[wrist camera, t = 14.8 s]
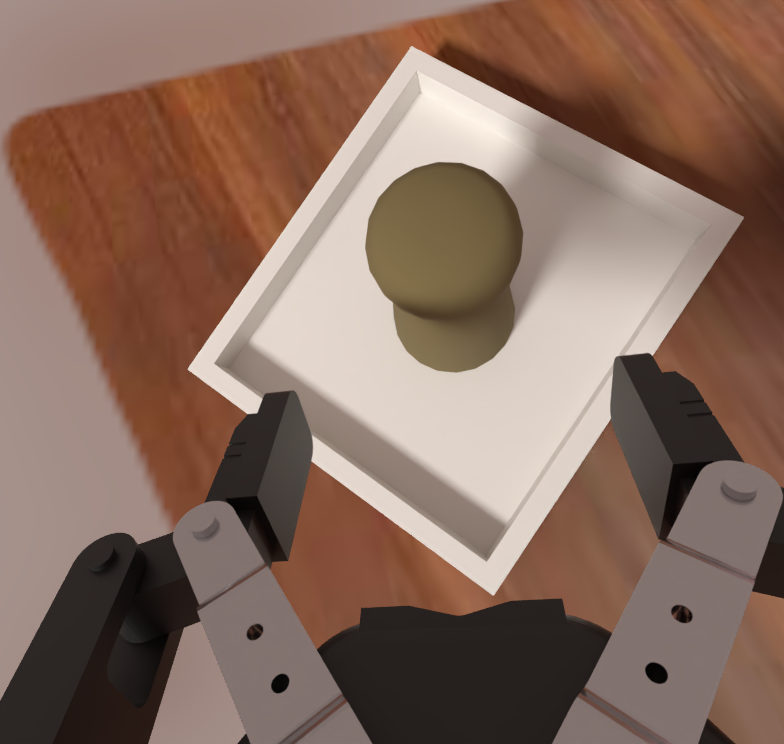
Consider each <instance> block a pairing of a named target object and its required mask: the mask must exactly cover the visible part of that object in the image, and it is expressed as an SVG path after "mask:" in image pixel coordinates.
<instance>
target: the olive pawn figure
mask: <svg viewBox="0 0 784 744" xmlns="http://www.w3.org/2000/svg"><path fill="white" fill-rule="evenodd" d="M522 243H523V229H522V225H521V221H520V217H519V214H518V210H517V207H516V205H515V203H514V202H513V200H512V199H511V197H510V196H509V194H508V193H507V191H506V190H505V188H504V187H503V185H502V184H501V183H499V182H498V181H497V180H495V179H494V178H493V177H492V176H490V175H489V174H488V173H486V172H485V171H484V170H481V169H478V168H475V167H472V166H469V165H466V164H464V163H453V162H436V163H432V164H428V165H424V166H421V167H417V168H414V169H412V170H411V171H409V172H407V173H406V174H404V175H402V176H401V177H399V178H397V179H396V180H394V181H393V182H392V183H391V184H390V186H389V187H388V188H387V189H386V190H385V191H384V192H383V193H382V194H381V195H380V197H379V198H378V200H377V202H376V204H375V206H374V208H373V210H372V212H371V214H370V217H369V219H368V227H367V235H366V243H365V250H366V255H367V260H368V265H369V270H370V272H371V274H372V276H373V277H374V279H375V281H376V282H377V284H378V286H379V288H380V289H381V291H382V293H383V294H384V295H385V296H386V297H387V298H388V299H389V300H390V301H391V302H393V313H394V321H395V326H396V331H397V335H398V337H399V339H400V341H401V342H402V344H403V346H404V348H405V349H406V351H407V352H408V353H409V354H410V355H411V356H413V357H414V358H415V359H416V360H417V361H418V362H419V363H421V364H423V365H425V366H428V367H430V368H432V369H434V370H437V371H444V372H455V373H458V372H462V371H467V370H472V369H476V368H478V367H479V366H481V365H483V364H485V363H486V362H488V361H490V360H492V359H493V358H494V357H495V356H496V355H497V354H498V352H499V351H500V350H501V349H502V348H503V347H504V346H505V345H506V343H507V340H508V338H509V336H510V334H511V331H512V329H513V325H514V314H515V306H514V302H513V298H512V294H511V289H510V283H511V281H512V279H513V276H514V274H515V272H516V270H517V268H518V265H519V263H520V259H521V254H522Z"/></svg>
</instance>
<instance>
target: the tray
mask: <svg viewBox="0 0 784 744" xmlns="http://www.w3.org/2000/svg"><path fill="white" fill-rule="evenodd" d="M436 162H453V163H464V164H466V165H469V166H472V167H475V168H478V169H481V170H484V171H485V172H486V173H488V174H489V175H490V176H492V177H493V178H494V179H495V180H497V181H498V182H499V183H501V184H502V185H503V187H504V188H505V190H506V191H507V193H508V194H509V196H510V197H511V199H512V200H513V202H514V203H515V205H516V207H517V210H518V214H519V217H520V221H521V225H522V229H523V243H522V254H521V259H520V263H519V265H518V268H517V270H516V272H515V274H514V276H513V279H512V281H511V283H510V289H511V294H512V298H513V302H514V306H515V314H514V325H513V329H512V331H511V334H510V336H509V338H508V340H507V343H506V345H505V346H504V347H503V348H502V349H501V350H500V351H499V352H498V354H497V355H496V356H495V357H494V358H493V359H492V360H490V361H488V362H486V363H485V364H483V365H481V366H479V367H478V368H476V369H472V370H467V371H462V372H458V373H455V372H444V371H437V370H434V369H432V368H430V367H428V366H425V365H423V364H421V363H419V362H418V361H417V360H416V359H415V358H414V357H413V356H411V355H410V354H409V353H408V352H407V351H406V349H405V348H404V346H403V344H402V342H401V341H400V339H399V337H398V335H397V331H396V326H395V321H394V313H393V302H391V301H390V300H389V299H388V298H387V297H386V296H385V295H384V294H383V293H382V291H381V289H380V288H379V286H378V284H377V282H376V281H375V279H374V277H373V276H372V274H371V272H370V270H369V265H368V260H367V255H366V250H365V243H366V235H367V227H368V219H369V217H370V214H371V212H372V210H373V208H374V206H375V204H376V202H377V200H378V198H379V197H380V195H381V194H382V193H383V192H384V191H385V190H386V189H387V188H388V187H389V186H390V184H391V183H392V182H393V181H394V180H396V179H397V178H399V177H401V176H402V175H404V174H406V173H407V172H409V171H411V170H412V169H414V168H417V167H421V166H424V165H428V164H432V163H436ZM743 219H744V217H743V216H741V215H739V214H737V213H735V212H733V211H731V210H729V209H727V208H725V207H723V206H721V205H719V204H717V203H716V202H714V201H712V200H710V199H708V198H706V197H704V196H702V195H700V194H698V193H696V192H694V191H692V190H690V189H688V188H686V187H684V186H682V185H681V184H679V183H677V182H675V181H673V180H671V179H669V178H667V177H665V176H663V175H661V174H659V173H657V172H655V171H653V170H651V169H649V168H647V167H645V166H644V165H642V164H640V163H638V162H636V161H634V160H632V159H630V158H628V157H626V156H624V155H622V154H620V153H618V152H616V151H614V150H612V149H610V148H609V147H607V146H605V145H603V144H601V143H599V142H597V141H595V140H593V139H591V138H589V137H587V136H585V135H583V134H581V133H579V132H577V131H575V130H573V129H572V128H570V127H568V126H566V125H564V124H562V123H560V122H558V121H556V120H554V119H552V118H550V117H548V116H546V115H544V114H542V113H540V112H538V111H537V110H535V109H533V108H531V107H529V106H527V105H525V104H523V103H521V102H519V101H517V100H515V99H513V98H511V97H509V96H507V95H505V94H503V93H501V92H500V91H498V90H496V89H494V88H492V87H490V86H488V85H486V84H484V83H482V82H480V81H478V80H476V79H474V78H472V77H470V76H468V75H466V74H464V73H463V72H461V71H459V70H457V69H455V68H453V67H451V66H449V65H447V64H445V63H443V62H441V61H439V60H437V59H435V58H433V57H431V56H429V55H428V54H426V53H424V52H422V51H420V50H418V49H416V48H414V47H412V46H411V48H410V49H409V50H408V52H407V53H406V55H405V56H404V58H403V59H402V61H401V62H400V63H399V65H398V66H397V68H396V69H395V71H394V72H393V74H392V75H391V76H390V78H389V79H388V81H387V82H386V84H385V85H384V87H383V88H382V89H381V91H380V92H379V94H378V95H377V97H376V98H375V100H374V101H373V102H372V104H371V105H370V107H369V108H368V110H367V111H366V113H365V114H364V115H363V117H362V118H361V120H360V121H359V123H358V124H357V126H356V127H355V128H354V130H353V131H352V133H351V134H350V136H349V137H348V138H347V140H346V141H345V143H344V144H343V146H342V147H341V149H340V150H339V151H338V153H337V154H336V156H335V157H334V159H333V160H332V162H331V163H330V164H329V166H328V167H327V169H326V170H325V172H324V173H323V175H322V176H321V177H320V179H319V180H318V182H317V183H316V185H315V186H314V188H313V189H312V190H311V192H310V193H309V195H308V196H307V198H306V199H305V201H304V202H303V203H302V205H301V206H300V208H299V209H298V211H297V212H296V213H295V215H294V216H293V218H292V219H291V221H290V222H289V224H288V225H287V226H286V228H285V229H284V231H283V232H282V234H281V235H280V237H279V238H278V239H277V241H276V242H275V244H274V245H273V247H272V248H271V250H270V251H269V252H268V254H267V255H266V257H265V258H264V260H263V261H262V263H261V264H260V265H259V267H258V268H257V270H256V271H255V273H254V274H253V276H252V277H251V278H250V280H249V281H248V283H247V284H246V286H245V287H244V288H243V290H242V291H241V293H240V294H239V296H238V297H237V299H236V300H235V301H234V303H233V304H232V306H231V307H230V309H229V310H228V312H227V313H226V314H225V316H224V317H223V319H222V320H221V322H220V323H219V325H218V326H217V327H216V329H215V330H214V332H213V333H212V335H211V336H210V338H209V339H208V340H207V342H206V343H205V345H204V346H203V348H202V349H201V351H200V352H199V353H198V355H197V356H196V358H195V359H194V361H193V362H192V364H191V365H190V366H189V368H188V370H189V371H190V372H192V373H193V374H194V375H196V376H197V377H199V378H200V379H201V380H203V381H204V382H205V383H207V384H208V385H209V386H211V387H212V388H213V389H215V390H216V391H217V392H219V393H220V394H221V395H223V396H224V397H226V398H227V399H228V400H230V401H231V402H232V403H234V404H235V405H236V406H238V407H239V408H240V409H242V410H243V411H244V412H246V413H247V414H254V413H257V412H258V410H259V407H260V404H261V402H262V399H263V397H264V395H265V394H266V393H272V392H281V391H290V390H294V391H295V392H296V393H297V395H298V397H299V400H300V403H301V406H302V409H303V411H304V414H305V417H306V420H307V423H308V425H309V428H310V431H311V435H312V440H313V455H312V460H311V461H312V462H313V463H315V464H316V465H317V466H319V467H320V468H321V469H323V470H324V471H326V472H327V473H328V474H330V475H331V476H332V477H334V478H335V479H336V480H338V481H339V482H340V483H342V484H343V485H344V486H346V487H347V488H349V489H350V490H351V491H353V492H354V493H355V494H357V495H358V496H359V497H361V498H362V499H363V500H365V501H366V502H367V503H369V504H370V505H371V506H373V507H374V508H376V509H377V510H378V511H380V512H381V513H382V514H384V515H385V516H386V517H388V518H389V519H390V520H392V521H393V522H394V523H396V524H397V525H398V526H400V527H401V528H403V529H404V530H405V531H407V532H408V533H409V534H411V535H412V536H413V537H415V538H416V539H417V540H419V541H420V542H421V543H423V544H424V545H426V546H427V547H428V548H430V549H431V550H432V551H434V552H435V553H436V554H438V555H439V556H440V557H442V558H443V559H444V560H446V561H447V562H448V563H450V564H451V565H453V566H454V567H455V568H457V569H458V570H459V571H461V572H462V573H463V574H465V575H466V576H467V577H469V578H470V579H471V580H473V581H474V582H476V583H477V584H478V585H480V586H481V587H482V588H484V589H485V590H486V591H488V592H489V593H490V594H492V595H493V596H494V594H495V593H496V591H497V590H498V588H499V587H500V585H501V584H502V582H503V581H504V579H505V578H506V576H507V575H508V573H509V572H510V570H511V569H512V567H513V566H514V564H515V563H516V561H517V560H518V558H519V557H520V555H521V554H522V552H523V551H524V549H525V547H526V546H527V544H528V543H529V541H530V540H531V538H532V537H533V535H534V534H535V532H536V531H537V529H538V528H539V526H540V525H541V523H542V522H543V520H544V519H545V517H546V516H547V514H548V513H549V511H550V510H551V508H552V507H553V505H554V504H555V502H556V501H557V499H558V498H559V496H560V495H561V493H562V492H563V490H564V489H565V487H566V486H567V484H568V483H569V481H570V480H571V478H572V477H573V475H574V474H575V472H576V471H577V469H578V468H579V466H580V465H581V463H582V462H583V460H584V459H585V457H586V456H587V454H588V452H589V451H590V449H591V448H592V446H593V445H594V443H595V442H596V440H597V439H598V437H599V436H600V434H601V433H602V431H603V430H604V428H605V427H606V425H607V424H608V422H609V421H610V419H611V414H610V401H611V389H612V377H613V365H614V360H615V357H616V356H624V355H633V354H642V353H650V354H651V355H652V356H653V354H654V353H655V351H656V350H657V348H658V347H659V345H660V344H661V342H662V341H663V339H664V338H665V336H666V335H667V333H668V332H669V330H670V329H671V327H672V326H673V324H674V323H675V321H676V320H677V318H678V317H679V315H680V314H681V312H682V311H683V309H684V308H685V306H686V305H687V303H688V302H689V300H690V299H691V297H692V296H693V294H694V293H695V291H696V290H697V288H698V287H699V285H700V284H701V282H702V281H703V279H704V278H705V276H706V275H707V273H708V272H709V270H710V269H711V267H712V266H713V264H714V263H715V261H716V259H717V258H718V256H719V255H720V253H721V252H722V250H723V249H724V247H725V246H726V244H727V243H728V241H729V240H730V238H731V237H732V235H733V234H734V232H735V231H736V229H737V228H738V226H739V225H740V223H741V222H742V220H743Z"/></svg>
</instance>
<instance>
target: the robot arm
mask: <svg viewBox="0 0 784 744" xmlns="http://www.w3.org/2000/svg"><path fill="white" fill-rule="evenodd" d="M610 414H611V421H612V425H613V429H614V431H615V434H616V436H617V439H618V441H619V444H620V446H621V449H622V451H623V453H624V456H625V458H626V461H627V463H628V466H629V468H630V471H631V473H632V475H633V478H634V480H635V483H636V485H637V488H638V490H639V493H640V495H641V498H642V500H643V502H644V505H645V507H646V510H647V512H648V515H649V517H650V520H651V522H652V525H653V527H654V529H655V532H656V534H657V537H658V539H659V540H660V542H659V543H658V545H657V547H656V549H655V551H654V553H653V555H652V557H651V559H650V561H649V562H648V564H647V566H646V568H645V570H644V572H643V574H642V576H641V578H640V580H639V582H638V584H637V586H636V588H635V590H634V592H633V594H632V596H631V598H630V600H629V602H628V604H627V606H626V608H625V610H624V612H623V614H622V616H621V618H620V620H619V622H618V624H617V626H616V627H615V629H614V631H613V633H611V632H609V631H608V630H606V629H604V628H602V627H601V626H598V625H596V624H594V623H592V622H590V621H587V620H584V619H581V618H578V617H575V616H570V615H566V614H565V610H564V606H563V601H562V599H543V600H522V601H509V602H506V603H503V604H499V605H496V606H493V607H489V608H486V609H483V610H480V611H476V612H473V613H470V614H467V615H462V616H455V615H450V614H445V613H440V612H436V611H431V610H426V609H421V608H417V607H412V606H395V607H374V608H361V617H360V624H358V625H355V626H352V627H350V628H348V629H346V630H343V631H341V632H340V633H338V634H336V635H335V636H333V637H332V638H330V639H329V640H328V641H326V642H325V643H324V644H322V645H321V646H320V647H319V648H318V649H317V650H316V648H315V646H314V644H313V643H312V641H311V639H310V638H309V636H308V634H307V632H306V631H305V629H304V627H303V626H302V624H301V622H300V620H299V619H298V617H297V615H296V614H295V612H294V610H293V608H292V607H291V605H290V603H289V602H288V600H287V598H286V596H285V595H284V593H283V591H282V590H281V588H280V586H279V584H278V583H277V581H276V579H275V577H274V576H273V574H272V572H271V571H270V569H271V565H272V562H277V561H288V559H289V555H290V551H291V546H292V542H293V538H294V533H295V529H296V525H297V520H298V516H299V512H300V507H301V503H302V499H303V494H304V490H305V486H306V482H307V477H308V473H309V469H310V464H311V460H312V455H313V440H312V435H311V431H310V428H309V425H308V423H307V420H306V417H305V414H304V411H303V409H302V406H301V403H300V400H299V397H298V395H297V393H296V392H295V391H294V390H290V391H281V392H272V393H266V394H265V395H264V397H263V399H262V402H261V404H260V407H259V410H258V412H257V413H254V414H248V415H247V416H246V417H245V418H244V419H243V420H242V421H241V423H240V424H239V425H238V426H237V427H236V428H235V430H234V433H233V435H232V437H231V440H230V442H229V446H228V447H227V450H226V452H225V454H224V459H222V462H221V464H220V467H219V469H218V471H217V474H216V476H215V479H214V481H213V483H212V486H211V488H210V491H209V493H208V496H207V498H206V500H205V503H203V504H201V505H199V506H197V507H195V508H193V509H192V510H190V511H189V512H188V513H186V514H185V515H184V516H183V517H182V518H181V520H180V521H179V522H178V524H177V525H176V527H175V530H174V532H172V533H170V534H167V535H164V536H162V537H159V538H156V539H153V540H150V541H147V542H145V543H141V544H137V543H136V541H135V540H134V539H133V538H132V536H130V535H129V534H126V533H114V534H110V535H107V536H104V537H102V538H100V539H98V540H96V541H94V542H93V543H92V544H90V545H89V546H88V547H87V548H85V549H84V550H83V551H82V552H81V553H80V555H79V556H78V557H77V558H76V560H75V561H74V563H73V565H72V567H71V569H70V570H69V572H68V574H67V576H66V578H65V580H64V582H63V584H62V585H61V587H60V589H59V591H58V593H57V595H56V597H55V599H54V601H53V603H52V604H51V606H50V608H49V610H48V612H47V614H46V616H45V618H44V620H43V621H42V623H41V625H40V627H39V629H38V631H37V633H36V635H35V637H34V638H33V640H32V642H31V644H30V646H29V648H28V650H27V651H26V653H25V655H24V657H23V659H22V661H21V663H20V665H19V667H18V668H17V670H16V672H15V674H14V676H13V678H12V680H11V682H10V683H9V686H8V687H7V689H6V691H5V693H4V695H3V697H2V699H1V700H0V744H148V742H149V739H150V736H151V732H152V729H153V726H154V723H155V719H156V716H157V713H158V710H159V706H160V703H161V700H162V697H163V694H164V690H165V687H166V684H167V680H168V677H169V674H170V671H171V667H172V664H173V661H174V658H175V655H176V651H177V648H178V645H179V642H180V638H181V635H182V632H183V629H184V627H187V626H189V625H192V624H195V623H198V622H200V621H201V623H202V625H203V627H204V630H205V632H206V635H207V637H208V640H209V642H210V644H211V647H212V650H213V652H214V655H215V657H216V660H217V662H218V664H219V667H220V669H221V672H222V674H223V677H224V679H225V682H226V684H227V687H228V689H229V691H230V694H231V696H232V699H233V701H234V704H235V706H236V709H237V711H238V714H239V716H240V719H241V721H242V724H243V726H244V729H245V731H246V734H245V735H244V737H243V738H242V739H241V740H240V741H239V743H238V744H735V743H734V742H733V741H732V740H731V739H730V738H729V737H727V736H726V735H725V734H724V733H723V732H722V731H721V730H720V729H719V728H718V727H717V726H716V725H714V724H713V723H712V722H711V721H710V720H709V719H708V718H707V717H708V714H709V711H710V708H711V706H712V703H713V700H714V697H715V694H716V691H717V688H718V686H719V683H720V680H721V677H722V674H723V671H724V668H725V666H726V663H727V660H728V657H729V654H730V651H731V649H732V646H733V643H734V640H735V637H736V634H737V631H738V629H739V626H740V623H741V620H742V617H743V614H744V611H745V609H746V606H747V603H748V600H749V597H750V594H751V592H752V591H754V592H758V593H762V594H767V595H771V596H776V597H780V598H784V488H782V487H780V486H779V484H778V483H777V482H776V481H775V479H774V478H773V477H771V476H770V475H769V474H768V473H766V472H765V471H763V470H761V469H759V468H757V467H755V466H753V465H750V464H747V463H745V462H744V461H743V459H742V458H741V456H740V455H739V453H738V452H737V450H736V449H735V447H734V446H733V444H732V442H731V441H730V439H729V438H728V436H727V435H726V433H725V432H724V430H723V428H722V427H721V425H720V424H719V422H718V421H717V419H716V418H715V416H713V415H712V411H711V410H710V408H709V407H708V405H707V404H706V403H704V399H703V397H702V396H701V394H700V393H699V391H698V390H697V388H696V387H695V385H694V384H693V383H692V382H690V381H689V380H687V379H686V378H685V377H683V376H682V375H680V374H679V373H677V372H676V371H674V372H664V373H662V372H661V370H660V368H659V367H658V365H657V363H656V361H655V360H654V358H653V356H652V355H651V354H650V353H642V354H633V355H624V356H616V357H615V360H614V365H613V377H612V389H611V401H610Z"/></svg>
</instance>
